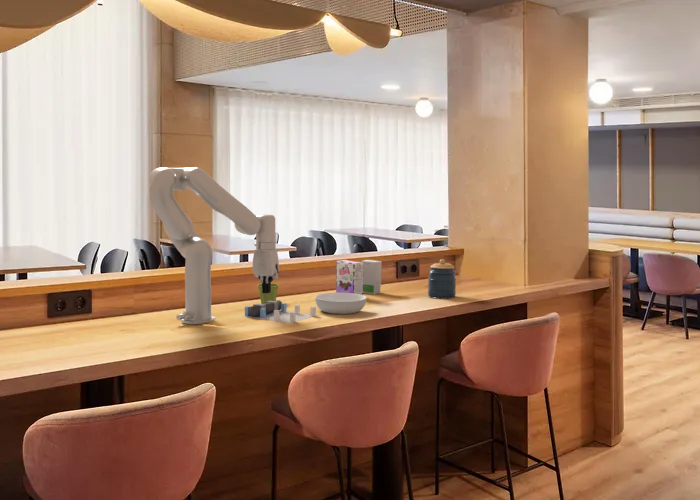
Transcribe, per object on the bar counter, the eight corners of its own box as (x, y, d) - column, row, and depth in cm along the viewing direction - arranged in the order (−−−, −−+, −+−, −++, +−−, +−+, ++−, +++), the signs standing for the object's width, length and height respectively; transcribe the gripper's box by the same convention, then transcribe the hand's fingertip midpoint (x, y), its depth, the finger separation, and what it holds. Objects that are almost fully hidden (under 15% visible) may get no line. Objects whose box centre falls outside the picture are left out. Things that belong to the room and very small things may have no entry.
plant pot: (260, 307, 292) (260, 287, 291) (254, 303, 301) (254, 283, 300) (281, 306, 296) (281, 285, 295) (275, 302, 304) (275, 282, 304)
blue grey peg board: (290, 325, 256) (290, 313, 255) (242, 318, 267) (242, 307, 267) (317, 317, 271) (317, 306, 271) (270, 311, 283) (270, 300, 282)
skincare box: (359, 293, 332) (360, 260, 331) (366, 291, 338) (366, 259, 336) (375, 294, 328) (375, 261, 327) (381, 292, 334) (382, 260, 332)
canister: (451, 294, 331) (452, 257, 329) (459, 298, 318) (459, 260, 317) (424, 294, 330) (425, 257, 328) (431, 299, 317) (432, 260, 315)
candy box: (335, 295, 325) (335, 260, 324) (345, 294, 329) (345, 259, 327) (353, 299, 314) (353, 263, 313) (363, 298, 318) (363, 262, 316)
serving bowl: (320, 319, 268) (320, 301, 268) (310, 309, 289) (310, 293, 288) (372, 317, 273) (372, 300, 272) (359, 307, 293) (359, 291, 293)
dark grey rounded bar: (256, 317, 264) (256, 306, 264) (247, 316, 266) (247, 305, 266) (283, 310, 279) (283, 300, 278) (274, 309, 281) (274, 299, 281)
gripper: (244, 246, 271) (245, 292, 273) (275, 248, 263) (276, 295, 265) (256, 244, 277) (257, 290, 279) (287, 246, 269) (287, 293, 271)
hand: (266, 292), depth 272 cm, fingers closed
